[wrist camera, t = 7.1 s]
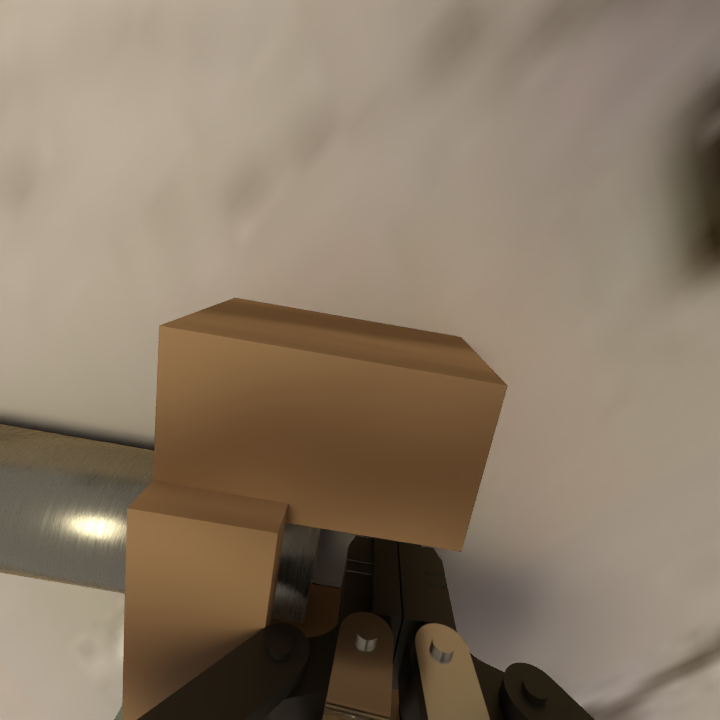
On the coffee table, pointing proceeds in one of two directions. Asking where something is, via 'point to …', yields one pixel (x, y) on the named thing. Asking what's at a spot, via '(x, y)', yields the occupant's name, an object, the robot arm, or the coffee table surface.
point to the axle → (100, 515)
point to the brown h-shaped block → (288, 471)
